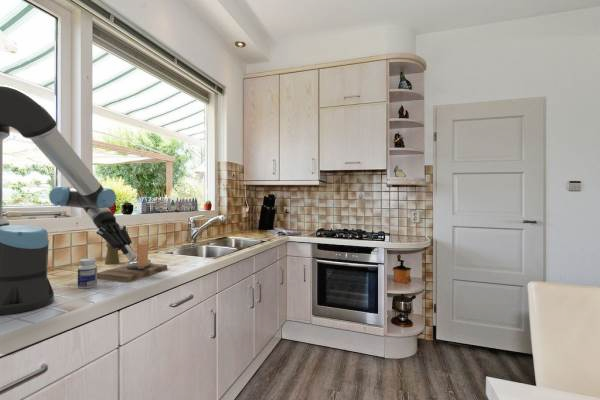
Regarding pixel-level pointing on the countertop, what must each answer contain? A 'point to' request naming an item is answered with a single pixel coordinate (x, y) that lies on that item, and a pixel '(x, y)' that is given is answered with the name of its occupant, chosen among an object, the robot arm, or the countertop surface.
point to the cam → (140, 258)
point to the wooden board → (129, 273)
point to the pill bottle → (87, 273)
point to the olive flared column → (111, 255)
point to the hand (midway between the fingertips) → (133, 258)
